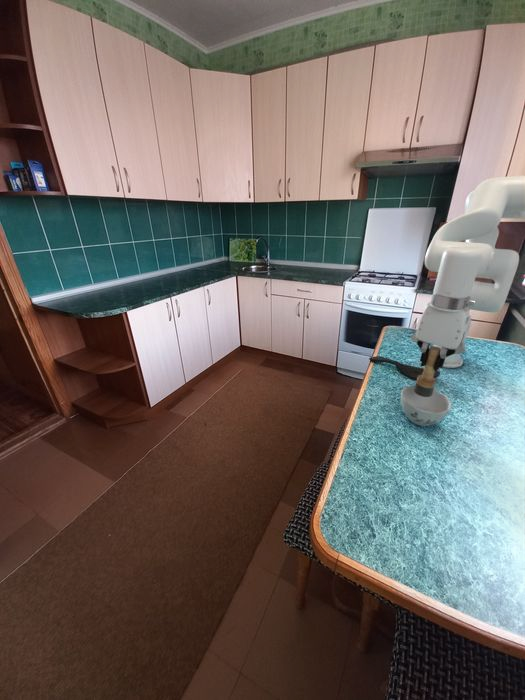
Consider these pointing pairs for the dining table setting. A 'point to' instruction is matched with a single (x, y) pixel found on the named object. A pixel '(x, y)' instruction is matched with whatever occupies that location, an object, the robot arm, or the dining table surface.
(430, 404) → the teacup
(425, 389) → the dish brush
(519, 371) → the dining table surface
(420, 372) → the hairbrush
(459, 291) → the robot arm
